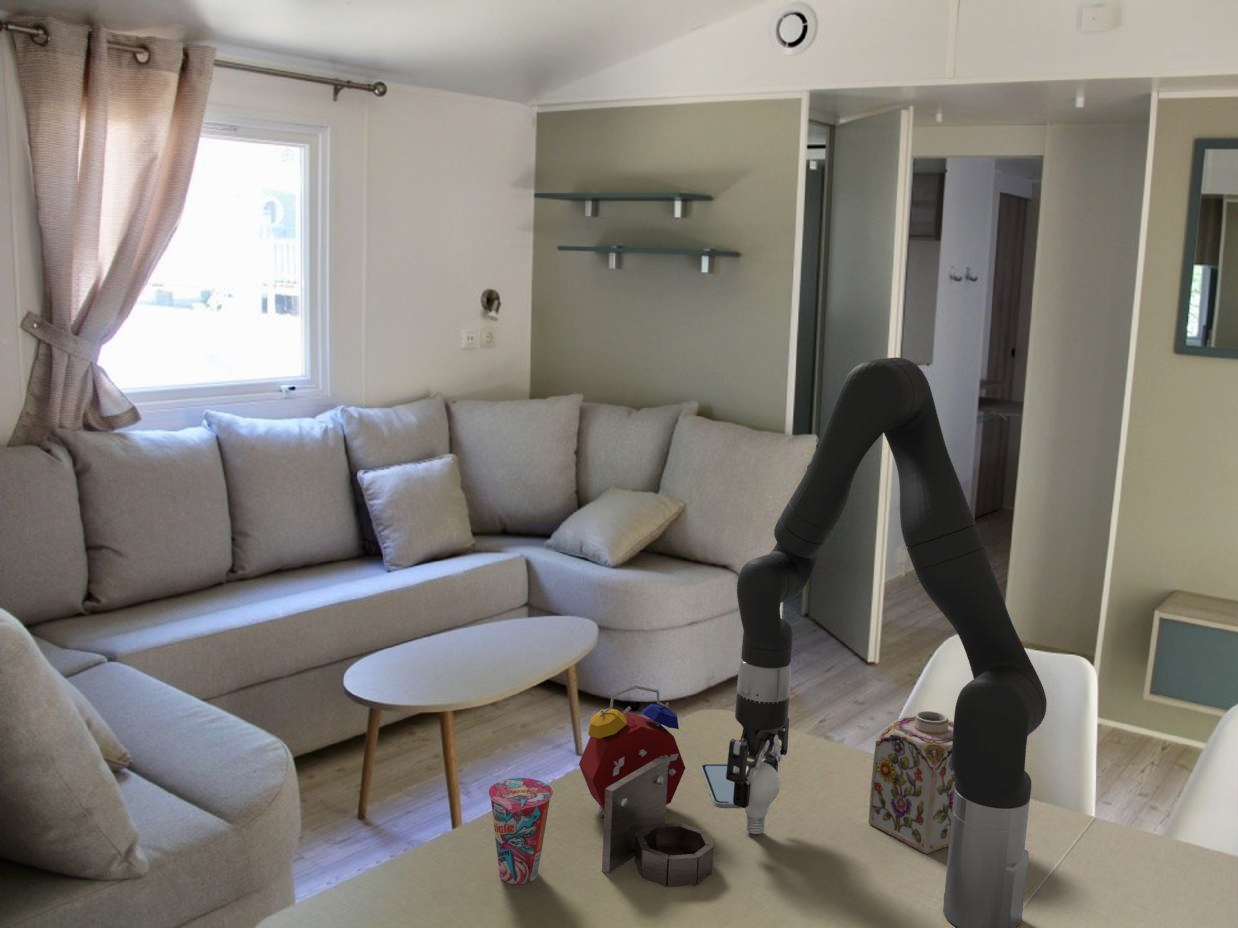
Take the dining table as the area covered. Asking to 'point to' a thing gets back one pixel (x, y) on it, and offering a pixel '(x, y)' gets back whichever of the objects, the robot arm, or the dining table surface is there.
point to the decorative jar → (914, 781)
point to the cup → (519, 826)
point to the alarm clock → (629, 746)
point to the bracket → (652, 831)
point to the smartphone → (719, 784)
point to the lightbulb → (761, 796)
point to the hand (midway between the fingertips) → (755, 795)
